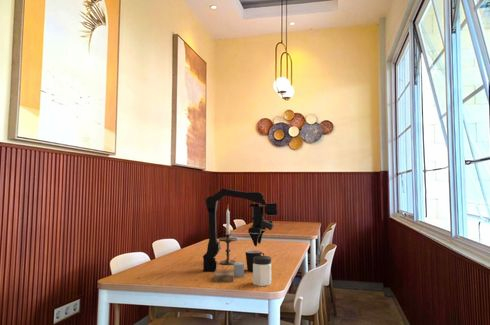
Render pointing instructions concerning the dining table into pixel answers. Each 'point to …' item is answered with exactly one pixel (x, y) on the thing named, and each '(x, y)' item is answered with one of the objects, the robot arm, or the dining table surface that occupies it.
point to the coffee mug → (251, 258)
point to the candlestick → (227, 239)
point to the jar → (262, 270)
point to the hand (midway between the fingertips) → (257, 244)
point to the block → (238, 269)
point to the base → (224, 276)
